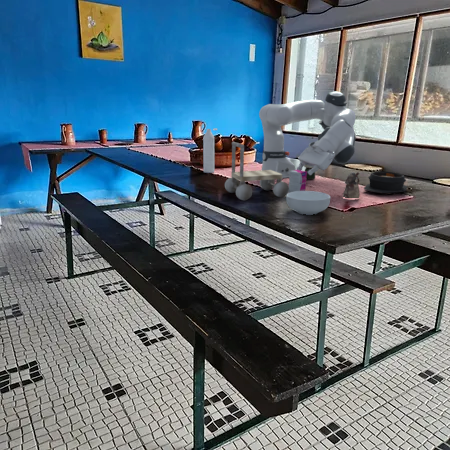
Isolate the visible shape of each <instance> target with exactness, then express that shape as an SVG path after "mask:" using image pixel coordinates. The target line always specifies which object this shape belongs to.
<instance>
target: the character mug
mask: <svg viewBox="0 0 450 450" xmlns="http://www.w3.org/2000/svg"><path fill="white" fill-rule="evenodd" d="M303 167H304V168H305V169H304V171H307V172H308V171H309V170H311V169H312V168H313V167H311V166H308V165H305V166H303ZM315 179H316V172H314V173H313V174H312V175H309V174H308V173H307V177H306V180H315Z"/></svg>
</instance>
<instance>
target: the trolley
mask: <svg viewBox="0 0 450 450" xmlns="http://www.w3.org/2000/svg"><path fill="white" fill-rule="evenodd" d="M236 147H238V148H239V149H240V150H239V151H240V153H239V155H240V156H239V157H240V158H239V171H236V151H237V150H236ZM244 159H245V145H244V144H242V143H239V142H235V141H232V142H231V172H230V173H231V174H230V175H231V177H229V178H227V179H226V180H225V182H224V188H225V190H226V191H227V193H231V194H235V195H236V197H237V198H238V199H239V200H241V201H247V200H249V199H251V197H252V195H253V189H252V187H251V186H250V185H249V184H246V182H254V181H255V182H256V181H259V187H260V188H261V189H263V190H265V191H271V190H272V192H273V194H274V196H276V197H277V198H284V197H286V195H287V194H288V191H289V183H286V182H285V181H283V178H282V174H280V173H278V172H275V171H272V170H262V169H260V170H246V171H245V170H244V169H245V168H244V167H245V166H244V162H245V161H244ZM275 182H276V183H275Z"/></svg>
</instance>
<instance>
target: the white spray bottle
mask: <svg viewBox="0 0 450 450" xmlns="http://www.w3.org/2000/svg"><path fill="white" fill-rule="evenodd" d="M212 131H218V128H213V129H211V128H207V129H206V131H205V134H203V137H202V138H203V139H202V141H203V143H202V145H203V148H202V149H203V150H202V151H203V152H202V153H203V155H202V156H203V163H202V164H203V169H202V170H203V173H206V174H208V173H209V174H211V173H214V172H215V135H214V134H213V132H212Z"/></svg>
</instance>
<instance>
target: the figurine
mask: <svg viewBox="0 0 450 450" xmlns="http://www.w3.org/2000/svg"><path fill="white" fill-rule="evenodd" d="M359 175H360V172H356V173H355V172H353V171H352V172H350V173H349V174H347V177H346V179H345V181H344V184H345V187H344V191H343V193H342V197H345V198H359V199H360V187H359V183H360V177H359ZM356 180H357V181H356Z"/></svg>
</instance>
